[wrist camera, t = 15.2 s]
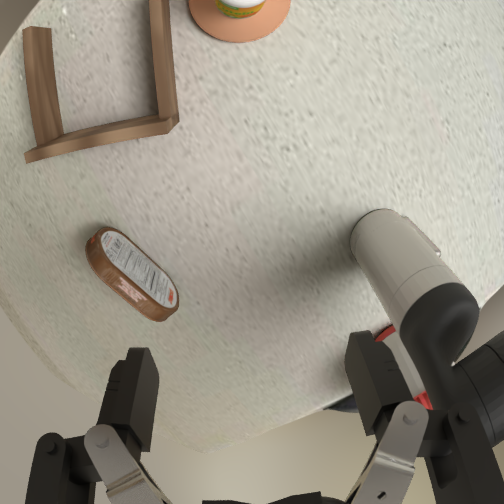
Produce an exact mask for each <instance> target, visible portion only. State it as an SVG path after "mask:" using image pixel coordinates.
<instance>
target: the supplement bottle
mask: <svg viewBox="0 0 504 504" xmlns="http://www.w3.org/2000/svg"><path fill="white" fill-rule="evenodd" d="M214 1H215V4H216V7H217V8H218V10H219V11H220V12H221V13H222V14H224V15H226V16H228V17H230V18H234V19H245V18H249V17H251V16H253V15H255V14H256V13H258V12H259V11H260V10H261V8H262V7H263V5H264V3H265V2H266V0H214Z"/></svg>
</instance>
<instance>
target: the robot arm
mask: <svg viewBox="0 0 504 504" xmlns="http://www.w3.org/2000/svg"><path fill="white" fill-rule="evenodd" d="M350 247H351V251H352V253H353V255H354V257H355V259H356V261H357V262H358V264H359V265H360V267H361V269H362V271H363V272H364V274H365V276H366V277H367V279H368V281H369V283H370V284H371V286H372V288H373V290H374V291H375V293H376V295H377V297H378V299H379V300H380V302H381V304H382V306H383V308H384V309H385V311H386V313H387V315H388V317H389V319H390V320H391V322H392V324H393V326H394V328H395V330H396V332H397V333H398V335H399V337H400V339H401V341H402V343H403V345H404V347H405V348H406V350H407V352H408V354H409V356H410V358H411V359H412V361H413V363H414V365H415V367H416V369H417V371H418V373H419V375H420V378H421V380H422V382H423V385H424V387H425V390H426V392H427V395H428V398H429V400H430V403H431V405H432V408H433V410H430V409H426V408H425V407H424V406H423V405H422V404H420V403H418V402H416V401H415V400H414V398H413V397H412V394H411V392H410V390H409V387H408V385H407V383H406V381H405V379H404V376H403V374H402V372H401V370H400V369H399V365H398V363H397V361H396V359H395V357H394V355H393V353H392V350H391V349H390V348H389V347H388V346H387V345H386V344H385V343H384V342H383V341H378V342H375V340H374V338H373V336H372V334H371V332H370V331H369V330H366V331H360V332H353V333H351V334H350V336H349V341H348V346H347V350H346V354H345V369H346V373H347V376H348V379H349V382H350V385H351V388H352V391H353V394H354V397H355V400H356V404H357V407H358V410H359V413H360V416H361V420H362V423H363V426H364V430H365V433H366V436H369V435H373V434H375V436H376V439H377V441H376V443H375V445H374V448H373V450H372V452H371V454H370V456H369V458H368V460H367V462H366V464H365V466H364V469H363V470H362V472H361V474H360V476H359V478H358V480H357V482H356V483H355V485H354V486H353V488H352V490H351V491H350V493H349V495H348V496H347V498H346V500H345V502H344V501H341V500H339V499H335V498H330V497H322V496H321V492H320V491H319V492H313V493H307V494H300V495H293V496H289V497H287V498H284V499H281V500H278V501H275V502H272V503H268V504H401V503H402V501H403V499H404V497H405V494H406V492H407V490H408V487H409V485H410V482H411V480H412V477H413V475H414V471H415V468H414V462H415V459H416V457H424V459H425V462H426V466H427V469H428V473H429V477H430V480H431V484H432V488H433V492H434V496H435V500H436V504H504V481H503V478H502V475H501V472H500V469H499V466H498V463H497V461H496V458H495V455H494V452H493V450H492V447H494V446H496V445H497V444H499V443H500V442H501V441H503V440H504V331H502V332H500V333H499V334H498V335H496V336H495V337H494V338H492V339H491V340H489V341H488V342H487V343H485V344H484V345H482V346H481V347H480V348H478V349H477V350H475V351H474V352H472V353H471V354H470V355H468V356H467V357H465V358H464V359H462V360H461V361H459V362H458V363H457V364H455V365H453V366H452V363H453V361H454V359H455V357H456V356H457V354H458V353H459V351H460V350H461V348H462V347H463V346H464V344H465V343H466V342H467V340H468V339H469V337H470V336H471V334H472V333H473V331H474V329H475V327H476V324H477V322H478V317H479V307H478V304H477V301H476V299H475V298H474V296H473V295H472V294H471V293H470V291H469V290H468V289H467V288H466V287H465V286H464V284H463V283H462V282H461V281H460V280H459V278H458V277H457V276H456V275H455V274H454V273H453V271H452V270H451V269H450V268H449V267H448V266H447V265H446V264H445V262H444V261H443V260H442V259H441V258H440V256H441V251H440V250H439V248H438V247H437V246H436V245H435V244H434V243H433V242H432V241H431V240H430V239H429V238H428V237H427V236H426V235H425V234H424V233H423V232H422V231H421V230H420V229H419V228H418V227H417V226H416V225H415V224H414V223H413V222H412V221H411V220H410V219H409V218H408V217H402V216H400V215H399V214H398V213H397V212H395V211H393V210H389V209H380V210H376V211H373V212H371V213H369V214H367V215H366V216H364V217H363V218H362V219H361V220H360V221H359V222H358V223H357V225H356V226H355V228H354V230H353V232H352V234H351V239H350ZM108 381H109V383H108V384H107V387H106V391H105V395H104V398H103V402H102V406H101V410H100V414H99V418H98V421H97V424H96V426H93V427H92V428H90V429H89V430H88V431H87V433H86V434H85V435H83V436H79V437H73V438H67V439H63V438H62V437H61V436H60V435H59V434H57V433H47V434H45V435H43V436H42V437H41V438H40V439H39V440H38V442H37V445H36V450H35V454H34V458H33V463H32V467H31V472H30V477H29V482H28V488H27V494H26V500H25V504H94V498H95V488H96V487H95V486H96V482H99V481H103V482H104V484H105V486H106V488H107V491H106V493H107V496H108V498H109V500H110V502H111V503H112V504H172V502H171V501H170V500H169V499H168V498H167V497H166V496H165V494H164V493H163V492H162V490H161V489H160V488H159V486H158V485H157V484H156V482H155V481H154V480H153V478H152V477H151V475H150V474H149V472H148V471H147V470H146V468H145V467H144V465H143V464H142V462H141V461H140V457H141V452H150V445H151V438H152V430H153V423H154V415H155V408H156V402H157V395H158V388H159V373H158V370H157V367H156V365H155V362H154V360H153V357H152V355H151V352H150V350H149V348H147V347H146V348H129V350H128V353H127V357H126V360H119V361H118V362H117V363H116V365H115V366H114V367H113V368H112V370H111V373H110V377H109V380H108ZM202 504H249V503H243V502H238V501H232V500H223V501H222V500H220V501H219V500H217V501H208V500H207V501H205V500H203V501H202Z"/></svg>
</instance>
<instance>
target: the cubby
mask: <svg viewBox="0 0 504 504" xmlns="http://www.w3.org/2000/svg"><path fill="white" fill-rule="evenodd" d="M149 12H150V27H151V40H152V52H153V63H154V74H155V83H156V92H157V101H158V110H159V114H157V115H151V116H145V117H139V118H134V119H128V120H123V121H118V122H113V123H109V124H104V125H99V126H95V127H91V128H87V129H82V130H78V131H74V132H71V133H67V134H64V132H63V126H62V121H61V115H60V109H59V102H58V95H57V88H56V80H55V71H54V61H53V50H52V35H51V28H43V27H35V26H30V27H27V28H25V29H23V30H22V31H23V50H24V63H25V73H26V82H27V90H28V97H29V104H30V110H31V116H32V122H33V127H34V133H35V138H36V143H37V147H35V148H33V149H31V150H29V151H27V152H26V153H24V156H25V160H26V164H27V163H30V162H34V161H38V160H41V159H45V158H49V157H53V156H57V155H61V154H65V153H69V152H73V151H77V150H82V149H86V148H91V147H95V146H100V145H105V144H110V143H115V142H121V141H126V140H132V139H138V138H144V137H150V136H156V135H163V134H168V133H169V132H170V131H171V130H172V128H173V127H174V126H175V125H176V124H177V123H178V122H179V112H178V103H177V94H176V84H175V73H174V63H173V51H172V39H171V25H170V10H169V0H149Z"/></svg>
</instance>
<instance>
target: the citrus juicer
mask: <svg viewBox="0 0 504 504" xmlns="http://www.w3.org/2000/svg"><path fill="white" fill-rule="evenodd" d="M378 341H383V342H384V343H385V344H386V345H387V346H388V347H389V348H390V349H391V350H392V353H393V355H394V357H395V359H396V361H397V363H398V365H399V369H400V370H401V372H402V374H403V376H404V379H405V381H406V383H407V385H408V387H409V390H410V392H411V394H412V397H413V398H414V400H415V401H416V402H418V403H420V404H422V405H423V406H424V407H425V408H426V409H430V410H433V408H432V405H431V403H430V400H429V398H428V395H427V392H426V390H425V387H424V385H423V382H422V380H421V378H420V375H419V373H418V371H417V369H416V367H415V365H414V363H413V361H412V359H411V358H410V356H409V354H408V352H407V350H406V348H405V347H404V345H403V343H402V341H401V339H400V337H399V335H398V333H397V332H396V330H395V328H394V326H391V327H389V328H388V329H386V330H384V331H383V332H382V333H381V334H380V335H379V336H378V337H377V338H376V340H375V342H378ZM453 365H455V363H454V361H453V363H452V366H453Z"/></svg>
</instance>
